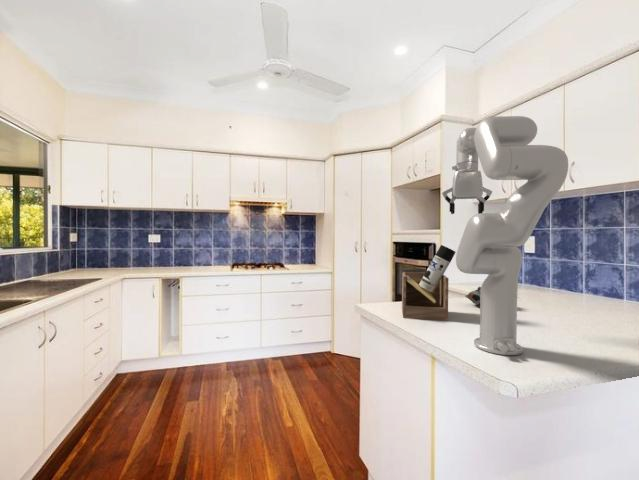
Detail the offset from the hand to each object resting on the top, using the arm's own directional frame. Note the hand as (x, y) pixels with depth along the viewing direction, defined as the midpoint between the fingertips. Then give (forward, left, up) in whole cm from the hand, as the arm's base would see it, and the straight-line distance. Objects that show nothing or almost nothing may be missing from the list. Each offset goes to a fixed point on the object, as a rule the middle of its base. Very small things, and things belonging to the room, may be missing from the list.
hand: (466, 213), depth 114 cm
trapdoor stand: (+12, +14, -42) cm, 46 cm away
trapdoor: (+12, +16, -31) cm, 37 cm away
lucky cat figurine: (+37, -17, -43) cm, 59 cm away
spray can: (+12, +13, -32) cm, 36 cm away
